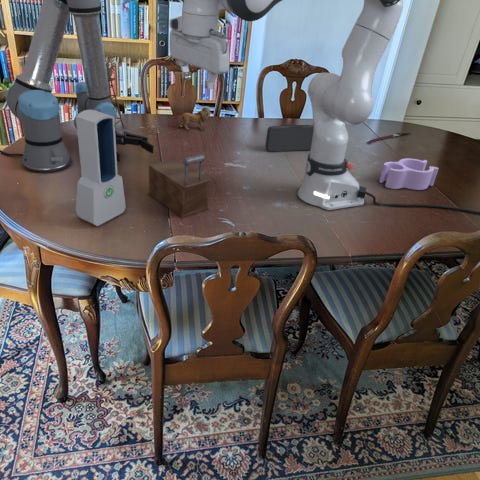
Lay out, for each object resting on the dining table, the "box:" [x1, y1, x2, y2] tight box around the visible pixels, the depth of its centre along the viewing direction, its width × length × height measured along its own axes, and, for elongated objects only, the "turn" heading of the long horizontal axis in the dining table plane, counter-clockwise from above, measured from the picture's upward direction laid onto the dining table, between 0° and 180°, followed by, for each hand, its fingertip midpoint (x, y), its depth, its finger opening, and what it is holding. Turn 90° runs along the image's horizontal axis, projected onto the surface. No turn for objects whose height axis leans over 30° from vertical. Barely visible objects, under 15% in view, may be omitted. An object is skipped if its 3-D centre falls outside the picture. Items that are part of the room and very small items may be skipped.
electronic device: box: [75, 110, 127, 227], centre depth 126 cm, size 12×8×30 cm, turn 148°
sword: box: [367, 132, 410, 144], centre depth 214 cm, size 31×3×1 cm, turn 126°
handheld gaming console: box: [264, 124, 313, 152], centre depth 189 cm, size 23×3×10 cm, turn 108°
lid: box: [148, 153, 211, 190], centre depth 138 cm, size 18×10×9 cm, turn 43°
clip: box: [378, 157, 439, 191], centre depth 172 cm, size 20×12×7 cm, turn 109°
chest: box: [148, 167, 210, 218], centre depth 143 cm, size 18×10×9 cm, turn 43°
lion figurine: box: [176, 106, 211, 131], centre depth 199 cm, size 15×5×9 cm, turn 110°
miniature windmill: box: [105, 52, 125, 131], centre depth 184 cm, size 9×8×30 cm
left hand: (136, 153), depth 159 cm, fingers open, 13 cm apart
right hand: (197, 83), depth 121 cm, fingers open, 8 cm apart
